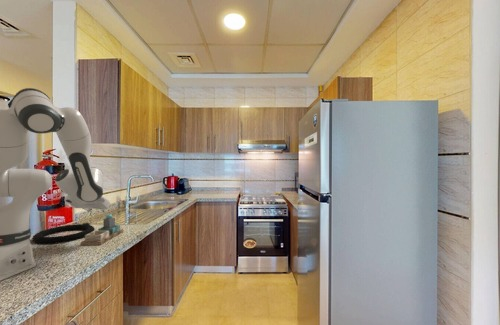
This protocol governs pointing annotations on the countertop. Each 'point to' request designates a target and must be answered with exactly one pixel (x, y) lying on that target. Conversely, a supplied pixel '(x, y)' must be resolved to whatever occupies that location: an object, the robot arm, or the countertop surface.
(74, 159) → the robot arm
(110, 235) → the brown divided tray
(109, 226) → the knob
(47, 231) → the cable lock
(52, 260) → the countertop surface
